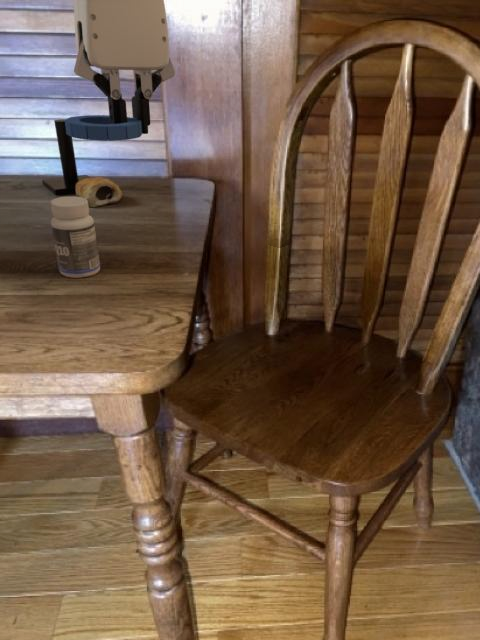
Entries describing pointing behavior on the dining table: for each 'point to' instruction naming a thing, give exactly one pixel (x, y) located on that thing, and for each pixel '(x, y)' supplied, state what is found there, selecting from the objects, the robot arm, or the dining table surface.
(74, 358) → the dining table surface
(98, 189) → the pastry
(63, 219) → the pill bottle
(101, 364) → the dining table surface
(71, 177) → the black upright rod
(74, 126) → the ring
